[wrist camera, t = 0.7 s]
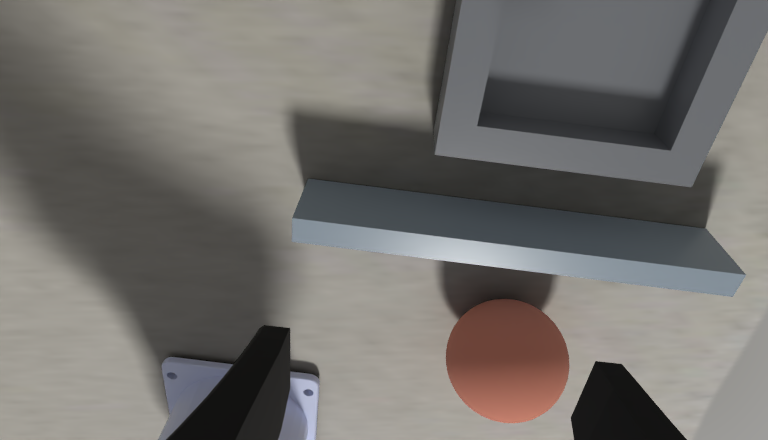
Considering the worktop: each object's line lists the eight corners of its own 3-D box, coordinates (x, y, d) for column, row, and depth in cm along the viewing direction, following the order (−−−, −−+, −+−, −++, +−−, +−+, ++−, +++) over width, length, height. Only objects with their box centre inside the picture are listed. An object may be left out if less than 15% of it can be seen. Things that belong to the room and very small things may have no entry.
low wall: (695, 249, 21) (732, 296, 19) (307, 200, 21) (291, 241, 19) (706, 228, 21) (745, 275, 18) (308, 178, 21) (292, 217, 18)
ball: (537, 362, 25) (561, 456, 21) (435, 349, 25) (438, 441, 21) (568, 282, 23) (602, 371, 18) (454, 268, 22) (462, 354, 18)
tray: (667, 161, 19) (691, 187, 18) (433, 132, 19) (434, 155, 18) (792, -119, 15) (840, -121, 13) (483, -159, 15) (491, -167, 13)
